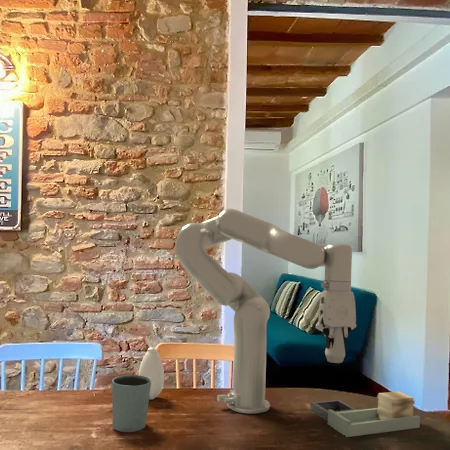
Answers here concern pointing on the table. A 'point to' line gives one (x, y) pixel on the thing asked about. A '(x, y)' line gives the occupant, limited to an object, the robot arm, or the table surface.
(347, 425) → the bay
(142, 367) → the white vase
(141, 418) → the green cup
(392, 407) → the crate
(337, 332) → the salt shaker
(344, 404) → the grey square frame
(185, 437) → the table surface
